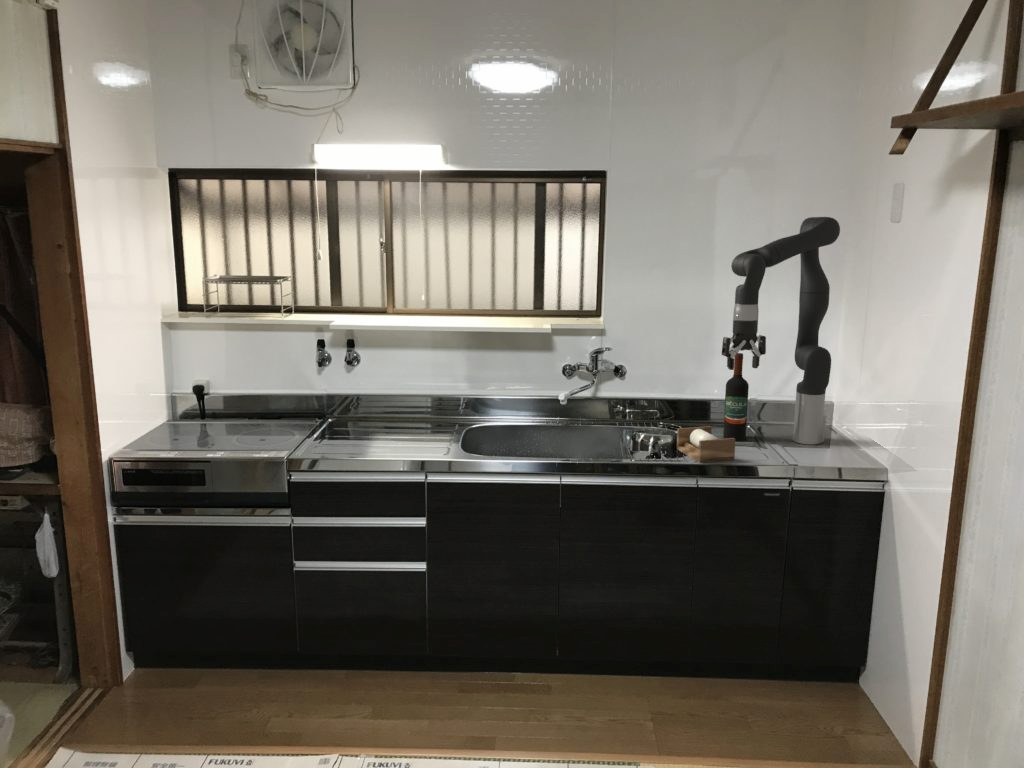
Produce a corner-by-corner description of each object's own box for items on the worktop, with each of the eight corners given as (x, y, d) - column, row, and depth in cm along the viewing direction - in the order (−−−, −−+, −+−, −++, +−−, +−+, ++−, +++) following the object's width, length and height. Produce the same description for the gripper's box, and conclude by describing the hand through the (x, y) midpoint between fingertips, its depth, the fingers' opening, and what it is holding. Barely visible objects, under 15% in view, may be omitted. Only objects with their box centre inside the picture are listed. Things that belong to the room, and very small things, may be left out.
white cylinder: (685, 438, 249) (697, 425, 249) (697, 449, 251) (709, 436, 251) (701, 447, 239) (713, 433, 239) (712, 458, 241) (725, 444, 241)
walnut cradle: (676, 448, 252) (677, 428, 250) (709, 446, 255) (710, 425, 253) (699, 463, 237) (700, 441, 235) (734, 459, 239) (735, 438, 238)
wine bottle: (748, 437, 265) (752, 352, 259) (742, 442, 258) (747, 356, 252) (726, 434, 268) (730, 351, 262) (720, 439, 262) (724, 354, 256)
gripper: (759, 316, 242) (756, 365, 246) (719, 317, 239) (716, 367, 242) (772, 318, 235) (769, 369, 239) (731, 320, 232) (728, 372, 235)
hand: (742, 368), depth 241 cm, fingers open, 8 cm apart
